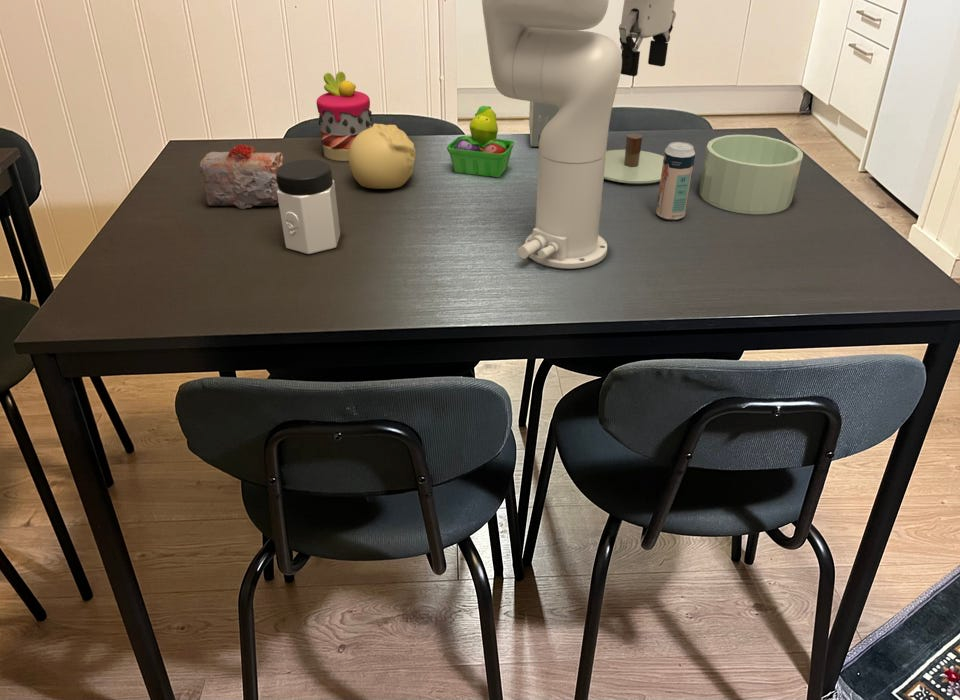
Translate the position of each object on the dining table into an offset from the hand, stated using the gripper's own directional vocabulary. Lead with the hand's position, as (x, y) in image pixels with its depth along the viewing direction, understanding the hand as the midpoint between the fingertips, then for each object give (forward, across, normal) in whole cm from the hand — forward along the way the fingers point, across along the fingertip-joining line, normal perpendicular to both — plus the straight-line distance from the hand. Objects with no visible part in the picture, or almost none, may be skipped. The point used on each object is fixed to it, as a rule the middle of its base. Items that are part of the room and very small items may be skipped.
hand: (642, 69), depth 133 cm
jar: (+20, +58, -23) cm, 65 cm away
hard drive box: (+19, -7, -25) cm, 32 cm away
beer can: (+19, +13, +15) cm, 28 cm away
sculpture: (+19, +34, -32) cm, 50 cm away
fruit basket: (+19, +17, -23) cm, 34 cm away
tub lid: (+18, -1, -1) cm, 18 cm away
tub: (+19, -3, +21) cm, 29 cm away
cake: (+19, +27, -49) cm, 59 cm away
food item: (+20, +55, -44) cm, 73 cm away
